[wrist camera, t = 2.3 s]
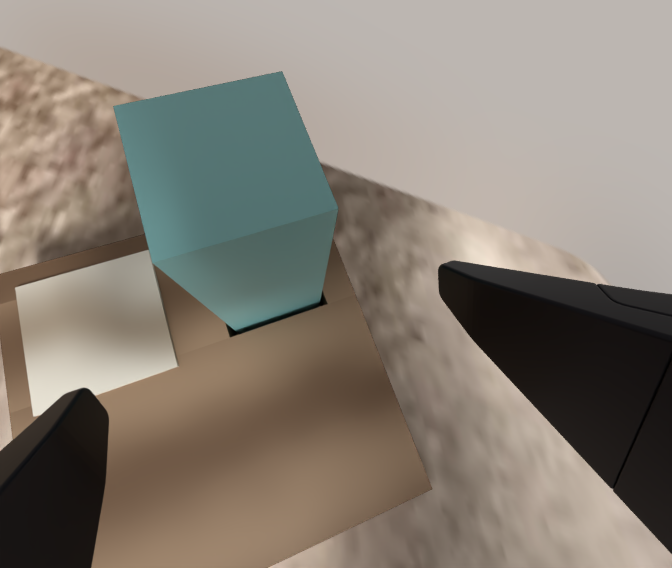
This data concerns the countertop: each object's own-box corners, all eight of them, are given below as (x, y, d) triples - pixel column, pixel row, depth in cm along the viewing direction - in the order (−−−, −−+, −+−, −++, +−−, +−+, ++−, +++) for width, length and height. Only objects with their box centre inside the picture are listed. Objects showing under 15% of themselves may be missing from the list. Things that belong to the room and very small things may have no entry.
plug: (317, 312, 20) (338, 208, 8) (244, 337, 19) (152, 263, 8) (293, 246, 21) (282, 70, 9) (223, 268, 20) (113, 106, 9)
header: (412, 472, 18) (434, 490, 15) (91, 621, 15) (38, 679, 12) (311, 213, 22) (312, 185, 19) (38, 292, 19) (-12, 274, 16)
